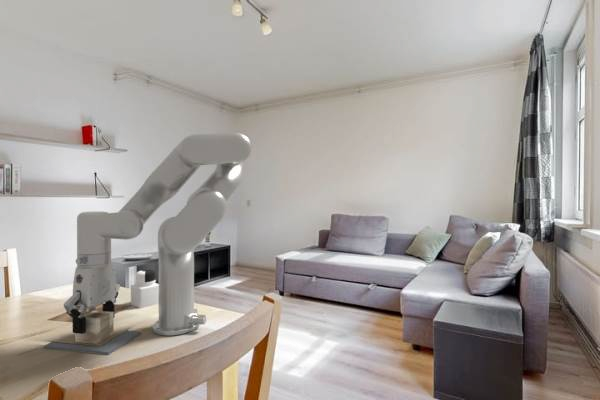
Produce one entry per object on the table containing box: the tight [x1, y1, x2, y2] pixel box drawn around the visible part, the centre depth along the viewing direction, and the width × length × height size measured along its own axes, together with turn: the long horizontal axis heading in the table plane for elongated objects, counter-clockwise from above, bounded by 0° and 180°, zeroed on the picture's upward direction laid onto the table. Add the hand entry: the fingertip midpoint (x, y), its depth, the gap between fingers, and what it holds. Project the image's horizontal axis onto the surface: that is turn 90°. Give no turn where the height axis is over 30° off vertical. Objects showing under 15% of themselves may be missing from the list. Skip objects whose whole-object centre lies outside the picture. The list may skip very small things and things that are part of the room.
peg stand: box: [47, 303, 133, 323], centre depth 104 cm, size 16×16×5 cm
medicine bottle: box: [130, 269, 159, 309], centre depth 113 cm, size 7×7×12 cm
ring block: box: [74, 311, 115, 344], centre depth 86 cm, size 6×6×6 cm
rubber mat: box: [43, 330, 142, 355], centre depth 86 cm, size 18×12×1 cm, turn 80°
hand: (94, 325), depth 86 cm, fingers open, 9 cm apart
